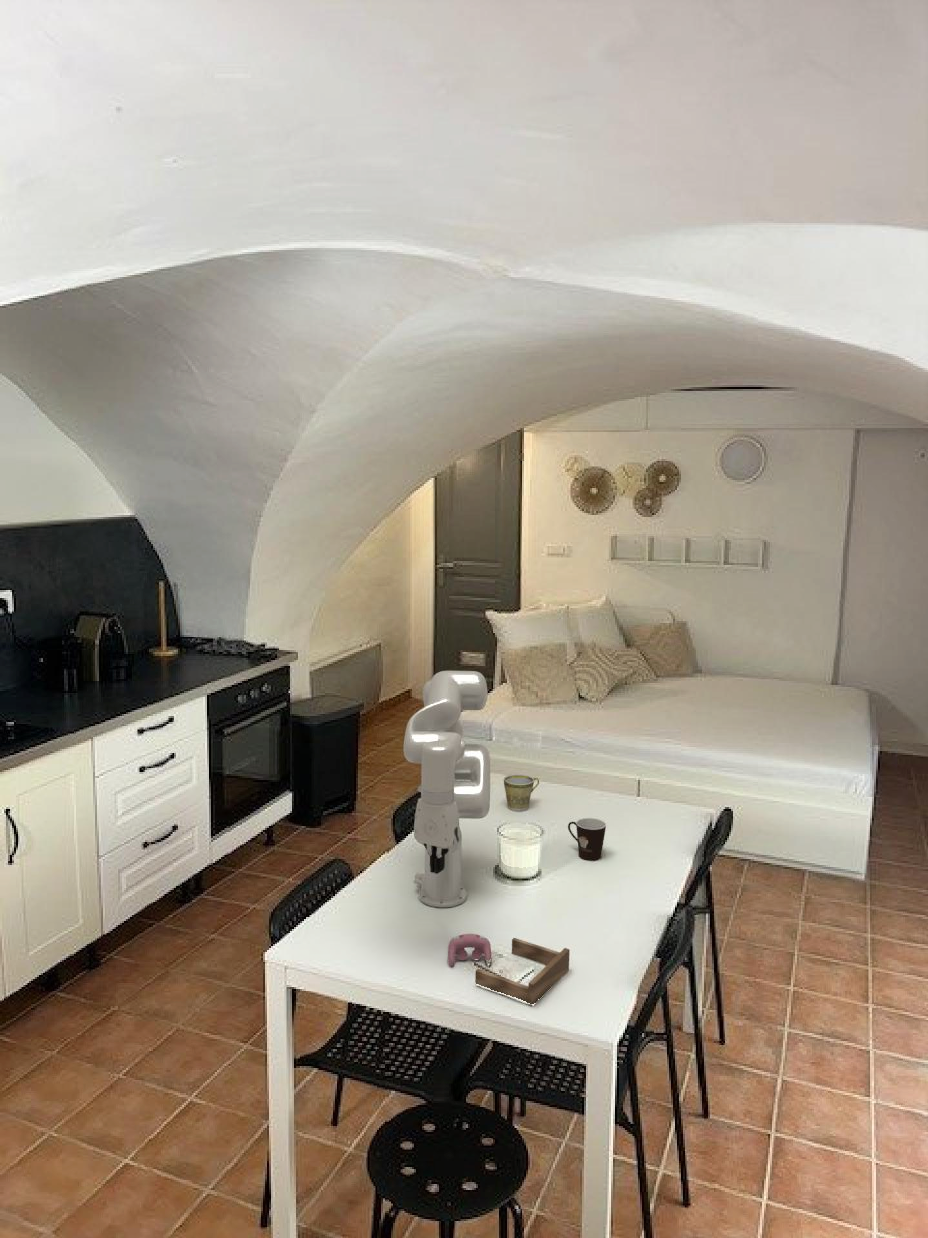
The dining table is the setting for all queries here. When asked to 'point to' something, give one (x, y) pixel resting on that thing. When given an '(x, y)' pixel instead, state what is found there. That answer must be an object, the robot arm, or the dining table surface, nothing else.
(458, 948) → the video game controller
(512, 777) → the ceramic cup
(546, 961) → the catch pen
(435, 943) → the dining table surface
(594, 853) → the coffee mug
